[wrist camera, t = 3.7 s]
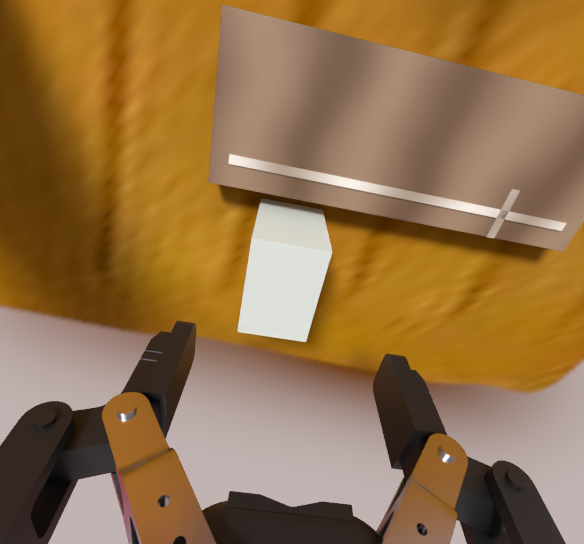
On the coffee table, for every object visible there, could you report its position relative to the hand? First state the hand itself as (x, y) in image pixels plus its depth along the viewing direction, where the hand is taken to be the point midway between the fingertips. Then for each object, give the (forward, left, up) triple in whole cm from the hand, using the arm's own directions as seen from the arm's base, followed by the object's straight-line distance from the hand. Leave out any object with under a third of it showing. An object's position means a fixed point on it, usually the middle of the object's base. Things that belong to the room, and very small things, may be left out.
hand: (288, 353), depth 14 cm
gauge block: (0, 0, -10) cm, 10 cm away
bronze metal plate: (+2, +9, -10) cm, 14 cm away
